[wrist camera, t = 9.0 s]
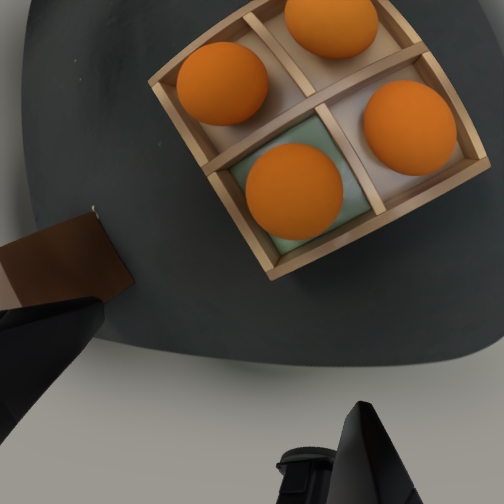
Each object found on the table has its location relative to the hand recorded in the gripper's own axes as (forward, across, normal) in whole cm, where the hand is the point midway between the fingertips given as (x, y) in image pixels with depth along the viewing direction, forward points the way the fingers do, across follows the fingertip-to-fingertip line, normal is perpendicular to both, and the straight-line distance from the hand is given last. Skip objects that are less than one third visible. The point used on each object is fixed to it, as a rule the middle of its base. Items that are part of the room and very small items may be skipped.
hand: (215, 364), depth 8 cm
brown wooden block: (+10, +16, +6) cm, 20 cm away
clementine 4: (+10, -5, -9) cm, 14 cm away
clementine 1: (+10, +5, -9) cm, 14 cm away
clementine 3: (+10, 0, -4) cm, 11 cm away
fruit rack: (+10, 0, -9) cm, 14 cm away
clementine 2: (+10, 0, -14) cm, 17 cm away
